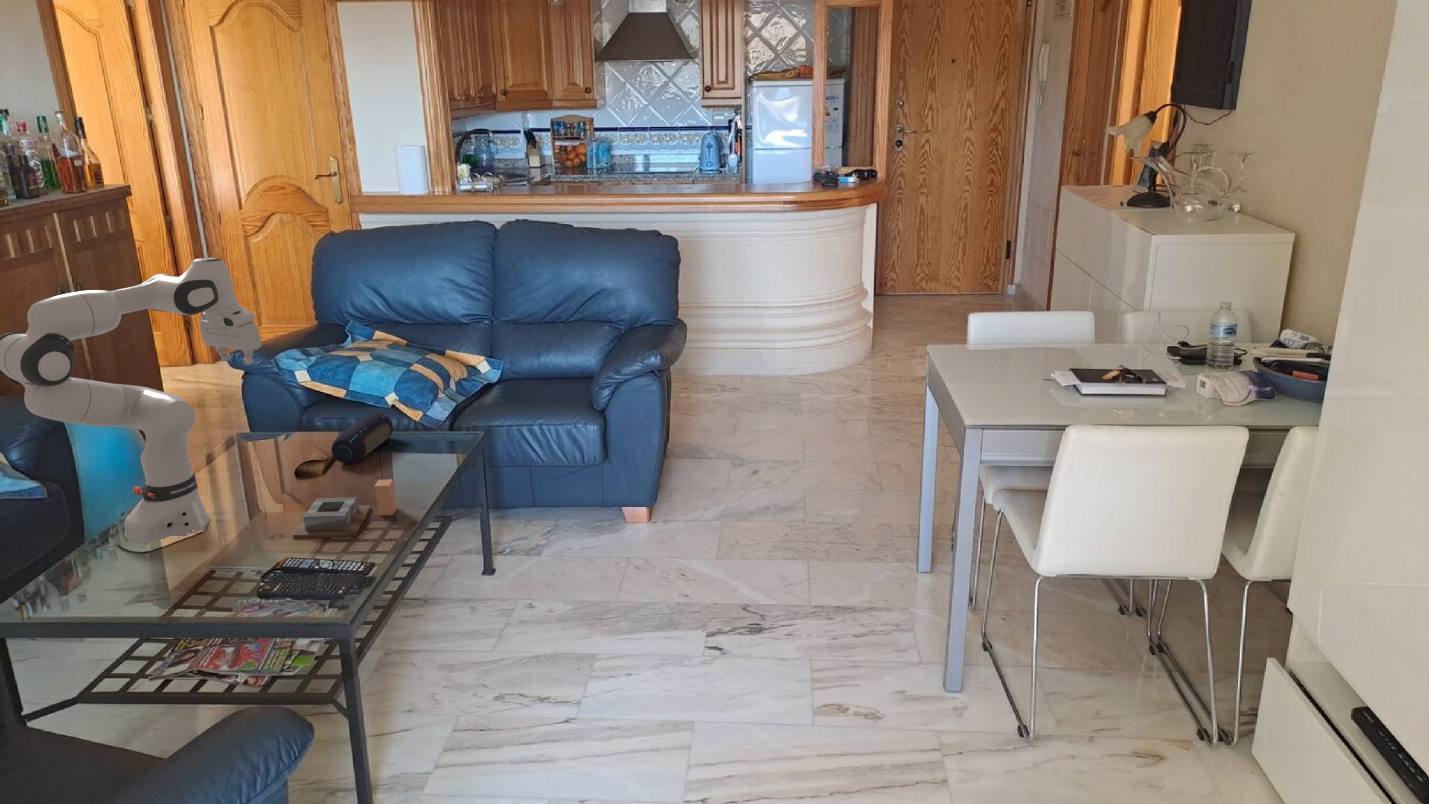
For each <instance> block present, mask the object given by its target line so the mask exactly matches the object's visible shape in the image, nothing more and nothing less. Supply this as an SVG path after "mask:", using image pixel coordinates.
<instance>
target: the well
mask: <svg viewBox="0 0 1429 804" xmlns="http://www.w3.org/2000/svg"><path fill="white" fill-rule="evenodd" d="M371 510H372V506H371V505H359V501H358V496H352V497H351V496H350V497H349V496H348V497H323V498H322V497H320V498H319V497H318V498H316V499H315V500H314V502H313V503H312V504H311V506H310V507H309V508H308V510H307V511H306V513H305V514H304V515H303V516H302V517H303V521H302V522H301V523H300V524H299V526H298V528H297V529H296V530H295V532H294V533H293V534H292V537H293V539H311V538H312V539H314V538H338V537H339V538H341V537H355V536H357V533H358V531H359V529H360V528H361V526H362V525H363V523H364V521H366V518H367V517H368V514H369V513H370V511H371Z"/></svg>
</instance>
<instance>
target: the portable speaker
mask: <svg viewBox="0 0 1429 804" xmlns="http://www.w3.org/2000/svg"><path fill="white" fill-rule="evenodd" d="M393 430H394V427H393V422H392V420H391V418H390V417H389V415H387V414H386V413H384V412H379V411H378V412H377V411H376V412H372V413H369V414H368V415H365V417H363V418H361V419H360V420H358V421H357V422H355V424H353V425H351V426H350V427H349V428H347V429H346V430H345V431H343V432H342V433H340V434H339V435H338V436H336V438H335V440H334V441H333V442H332V445H331V452H332V454H333V456H334V457H335V458H336V459H335V460H337V461H338V462H340V463H342V464H348V465H349V464H350V463H351V464H355V463H358V462H360V461H361V460H363V459H364V457H366V456H367V455H369V454H370V453H371V452H373V451H374V450H375V449H376V448H378V447H379V446H380V445H382V444H383V443H384V442H385V440H386V441H387V440H389V438H390V437H391V436H392V433H393V432H394V431H393Z"/></svg>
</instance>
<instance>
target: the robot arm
mask: <svg viewBox="0 0 1429 804" xmlns="http://www.w3.org/2000/svg"><path fill="white" fill-rule="evenodd" d="M146 309H147V310H148V309H149V310H153V311H157V312H161V313H163V312H165V313H171V314H172V313H173V314H179V315H182V316H183V315H184V316H193V315H194V316H195V315H198V314H200V313H202V314H201V315H200V317H199V320H200V323H199V327H200V332H201V333H200V335H201V338H202V341H203V343H204V344H205V345H206V346H208V347H214V348H215V351H216V352H217V353H218V355H219V357H220V358H221V361H223V362H228V361H231V356H230V353H228V352H227V350H226V349H230V350H238V351H242V352H243V354H244V358H242V360H243V363H244V365H248V366H250V365H252V364H254V359H253V355H254V351H257V350H258V349H260V348H261V347H262V339H261V335H260V331H259V329H258V326H257V324H256V323H255V321H256V317H255V316H256V315H255V314H254V313H253V312H252V311H250V310H248V309H247V308H244V306H242V305H240V302H239V299H238V298H237V296H236V295H235V286H234V281H233V278H232V276H231V273H230V271H229V268H228V266H227V264H226V263H225V262H224V260H223V259H222V258H221V259H220V258H217V257H199V258H195V259H193V260H192V262H191V264H190V265H189V267H188V268H187V270H185V272H184V273H182V274H181V275H179V276H175V275H170V274H167V273H158V274H155V275H153V276H151V277H149V278H148V279H146V280H145V281H143V282H142V283H140V284H136V285H134V286H133V285H132V286H128V287H124V288H118V289H113V290H103V289H102V290H101V289H94V290H93V289H90V290H80V291H73V292H68V293H67V292H66V293H63V294H62V293H61V294H58V295H55V296H51V297H48V298H45V299H42V300H39V301H37V302H35V303H33V304H32V305H31V306H30V307H29V309H28V311H27V315H26V316H27V317H26V319H27V324H28V327H27V330H26V332H20V331H19V332H17V331H14V332H7V333H4V334H1V335H0V374H2V375H3V376H4V377H5V378H7V379H9V380H10V381H11V382H12V383H14V384H16V385H22V386H23V387H24V395H23V396H24V397H23V400H24V401H23V402H24V404H25V407H26V409H27V410H28V412H30V413H32V414H33V415H35V416H39V417H41V418H44V419H48V420H52V421H56V422H63V423H68V424H77V425H83V426H85V425H86V426H94V427H101V428H111V427H115V428H116V427H119V428H121V427H123V428H130V429H131V428H132V429H135V430H136V429H137V430H140V431H142V432H143V433H144V435H145V449H144V450H143V451H142V452H141V453H140V461H141V462H140V463H141V465H142V470H143V474H144V478H145V483H144V484H145V485H144V488H143V487H140V486H137V485H136V486H134V487H133V489H132V493H133V494H135V495H138V496H142V498H141V499H140V501H139V502H138V503H137V505H136V506H134V508H133V509H132V511H131V512H130V513H129V514H128V515H127V516H126V517H125V519H124V534H125V536H126V537H127V538H128V539H130V540H132V541H134V542H138V543H142V544H149V543H151V542H156V541H159V540H161V539H165V538H167V537H169V536H182V537H183V536H187V535H188V534H191V533H196V532H198V531H202V530H205V531H206V526H207V525H208V524H209V523H210V521H211V518H210V516H209V515H208V513H207V511H206V509H205V507H204V505H203V502H202V500H201V498H200V495H199V493H198V492H199V491H198V490H199V489H198V487H199V486H198V483H197V478H196V474H195V472H194V471H193V469H192V465H191V459H190V454H189V448H188V447H189V446H188V442H189V441H188V440H189V432H190V431H191V430H192V429H193V427H195V423H196V421H197V420H196V419H197V414H196V410H195V408H194V407H193V405H192V404H191V403H189V402H188V401H187V400H185V399H184V398H182V397H180V396H179V395H176V394H173V393H168V392H164V391H161V390H158V389H154V388H150V387H148V386H147V387H146V386H140V385H132V384H124V383H123V384H122V383H121V384H120V383H111V382H104V381H99V380H93V379H86V378H85V379H84V378H79V377H73V376H72V374H73V371H74V369H75V359H74V358H75V356H74V350H75V347H74V344H73V342H72V341H74V340H79V339H84V338H85V339H86V338H90V337H94V336H99V335H102V334H105V333H108V332H111V331H113V330H115V329H116V328H117V327H118V326H119V324H120V322H121V319H122V315H124V314H129V313H133V312H137V311H142V310H146ZM254 320H255V321H254ZM208 522H209V523H208ZM206 524H207V525H206ZM205 525H206V526H205ZM192 530H196V531H194V532H193V531H192ZM187 533H188V534H187ZM178 538H180V537H178Z"/></svg>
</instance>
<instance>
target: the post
mask: <svg viewBox="0 0 1429 804" xmlns="http://www.w3.org/2000/svg"><path fill="white" fill-rule="evenodd" d="M374 492H375V498H376V499H375V500H376V507H377V511H378V516H394V515H395V513H396V511H397V510H398V506H397V499H396V498H397V497H396V491H395V484H394V479H393V478H392V479H378V480H377V481H376V483H375V485H374ZM393 514H394V515H393Z"/></svg>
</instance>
